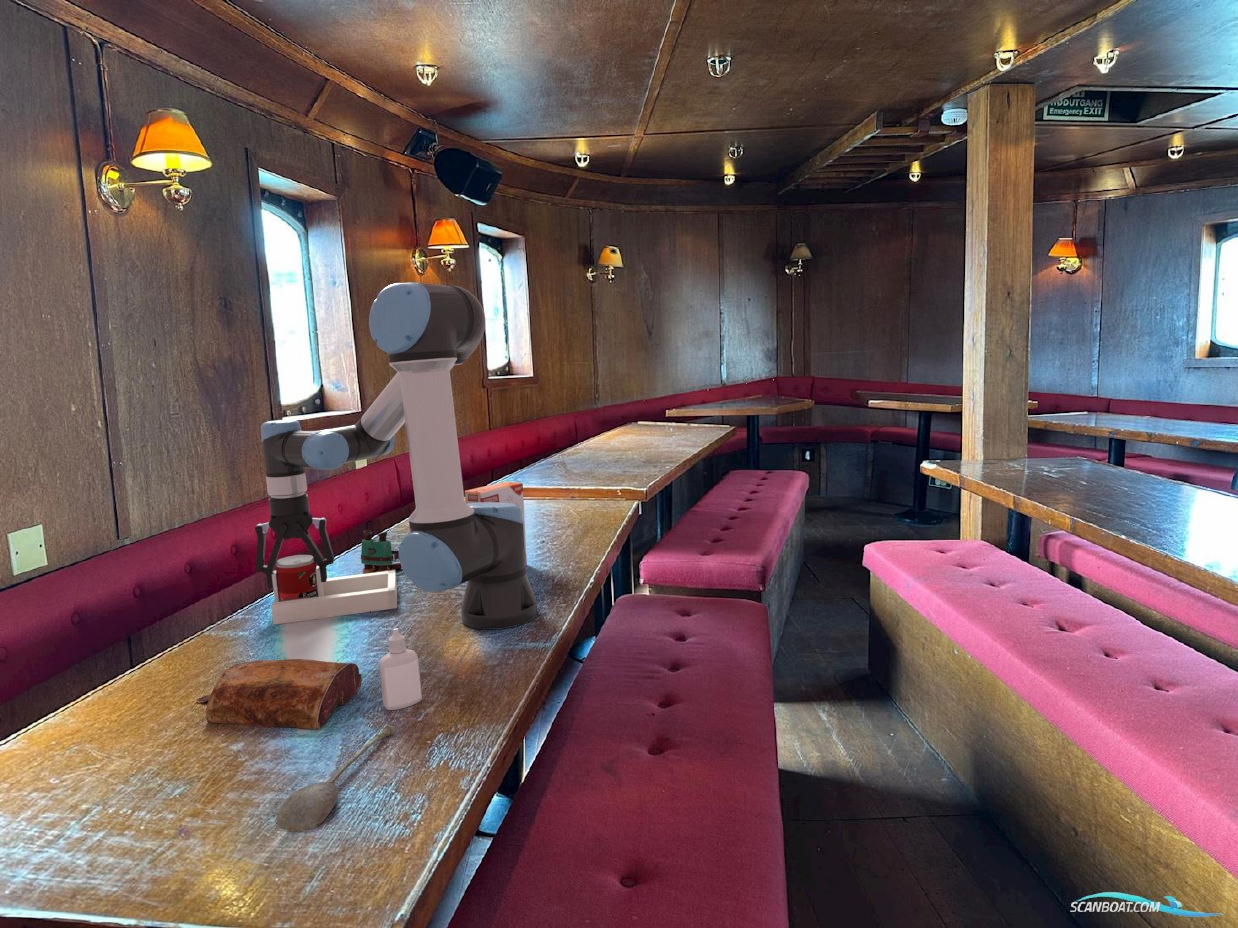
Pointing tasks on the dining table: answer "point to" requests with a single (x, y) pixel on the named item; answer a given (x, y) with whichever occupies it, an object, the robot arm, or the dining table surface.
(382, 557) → the binoculars
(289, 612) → the white rectangular tray
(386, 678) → the eye dropper bottle
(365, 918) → the dining table surface
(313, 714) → the cured meat
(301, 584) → the canned food
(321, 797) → the soupspoon
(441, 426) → the robot arm
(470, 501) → the cracker box
